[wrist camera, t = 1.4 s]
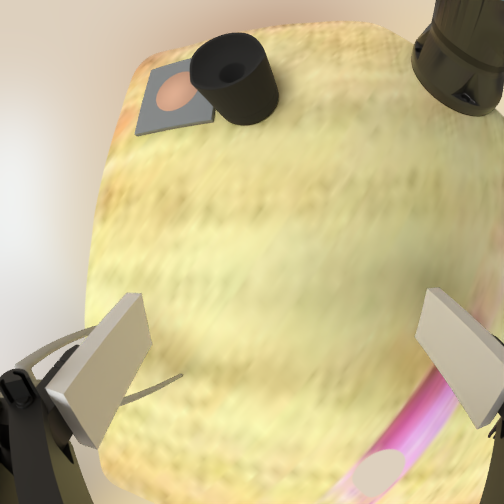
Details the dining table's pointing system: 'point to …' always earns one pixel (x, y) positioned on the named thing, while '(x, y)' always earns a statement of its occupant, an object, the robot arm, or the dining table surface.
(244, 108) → the pen holder
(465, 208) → the dining table surface
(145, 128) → the coaster mat
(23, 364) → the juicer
